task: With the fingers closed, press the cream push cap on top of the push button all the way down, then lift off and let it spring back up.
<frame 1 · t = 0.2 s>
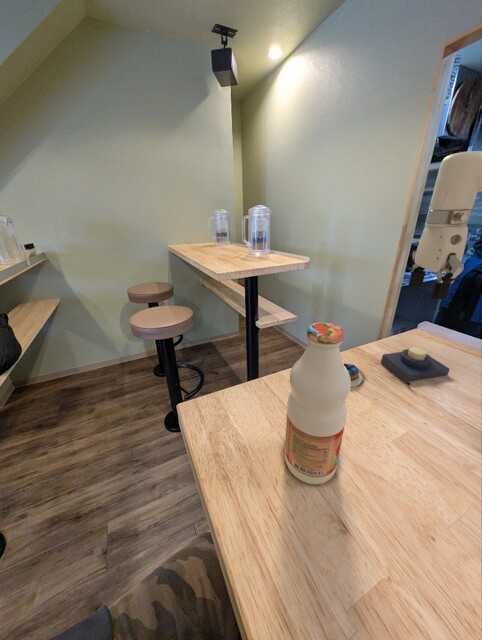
hand: (425, 291, 63), 23 cm above the table, tool pointing down, fingers open, 9 cm apart
dessert: (346, 378, 69), on the table
fruit juice: (309, 461, 47), on the table
push cap: (416, 353, 68), point 6 cm above the table, slide at 0.1 cm
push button: (411, 370, 71), on the table
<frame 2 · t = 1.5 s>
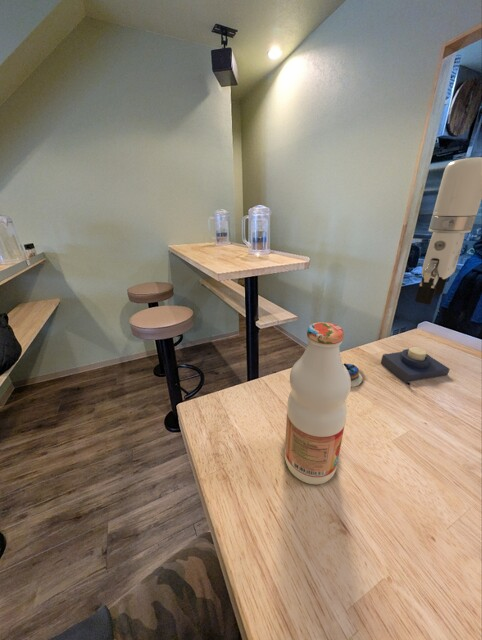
hand: (428, 297, 62), 21 cm above the table, tool pointing down, fingers open, 9 cm apart
nothing on the table moved.
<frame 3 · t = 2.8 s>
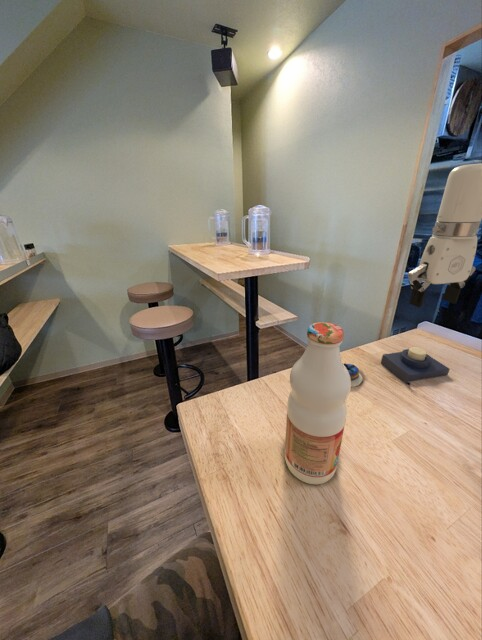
hand: (432, 303, 62), 20 cm above the table, tool pointing down, fingers open, 9 cm apart
nothing on the table moved.
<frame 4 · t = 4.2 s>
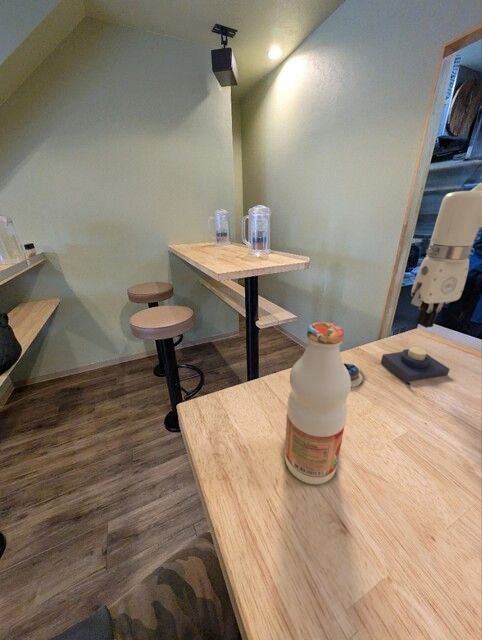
hand: (424, 324, 64), 14 cm above the table, tool pointing down, fingers closed
nothing on the table moved.
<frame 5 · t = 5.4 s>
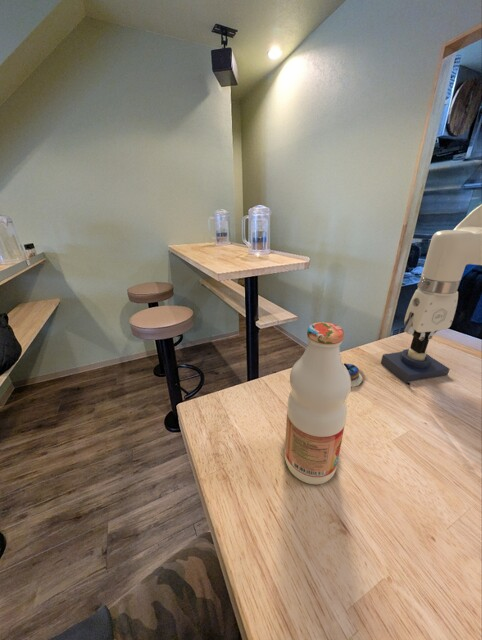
hand: (417, 350, 68), 7 cm above the table, tool pointing down, fingers closed
push cap: (416, 353, 68), point 6 cm above the table, slide at 0.1 cm, touching gripper
everything else where it was.
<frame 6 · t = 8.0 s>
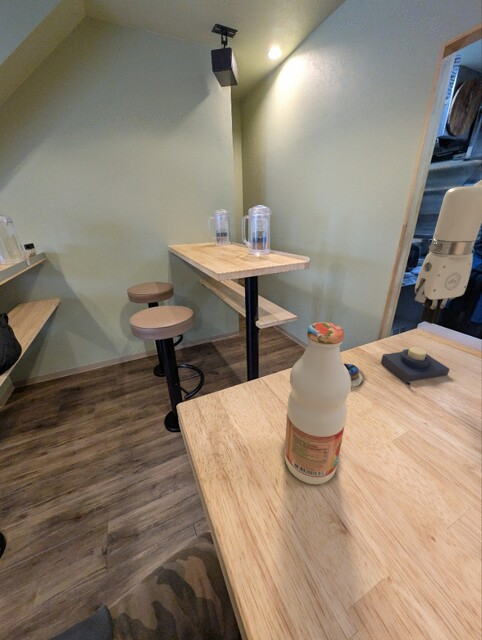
hand: (428, 321, 64), 15 cm above the table, tool pointing down, fingers closed
push cap: (416, 353, 68), point 6 cm above the table, slide at 0.1 cm
everything else where it was.
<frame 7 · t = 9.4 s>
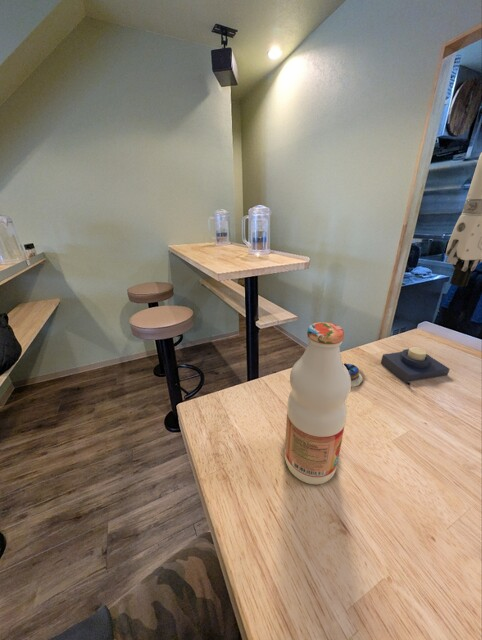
hand: (458, 284, 65), 23 cm above the table, tool pointing down, fingers closed
nothing on the table moved.
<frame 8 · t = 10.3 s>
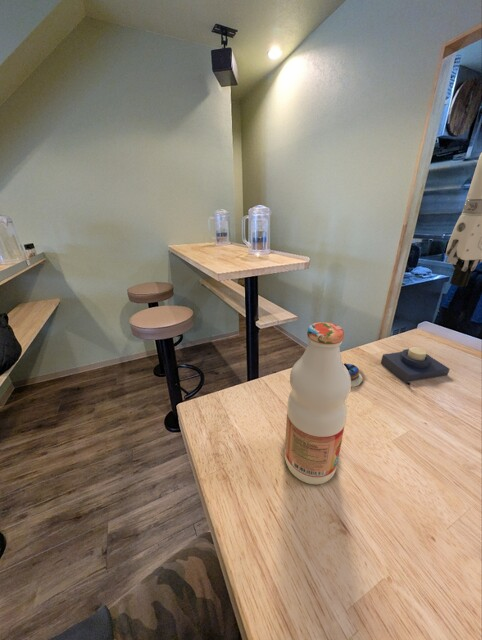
hand: (458, 284, 65), 23 cm above the table, tool pointing down, fingers closed
nothing on the table moved.
at the end: push cap pushed in 1.1 cm at the most during the clip, back to where it started at the end; push cap slide at 0.1 cm; dessert moved 0.2 cm from its start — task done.
